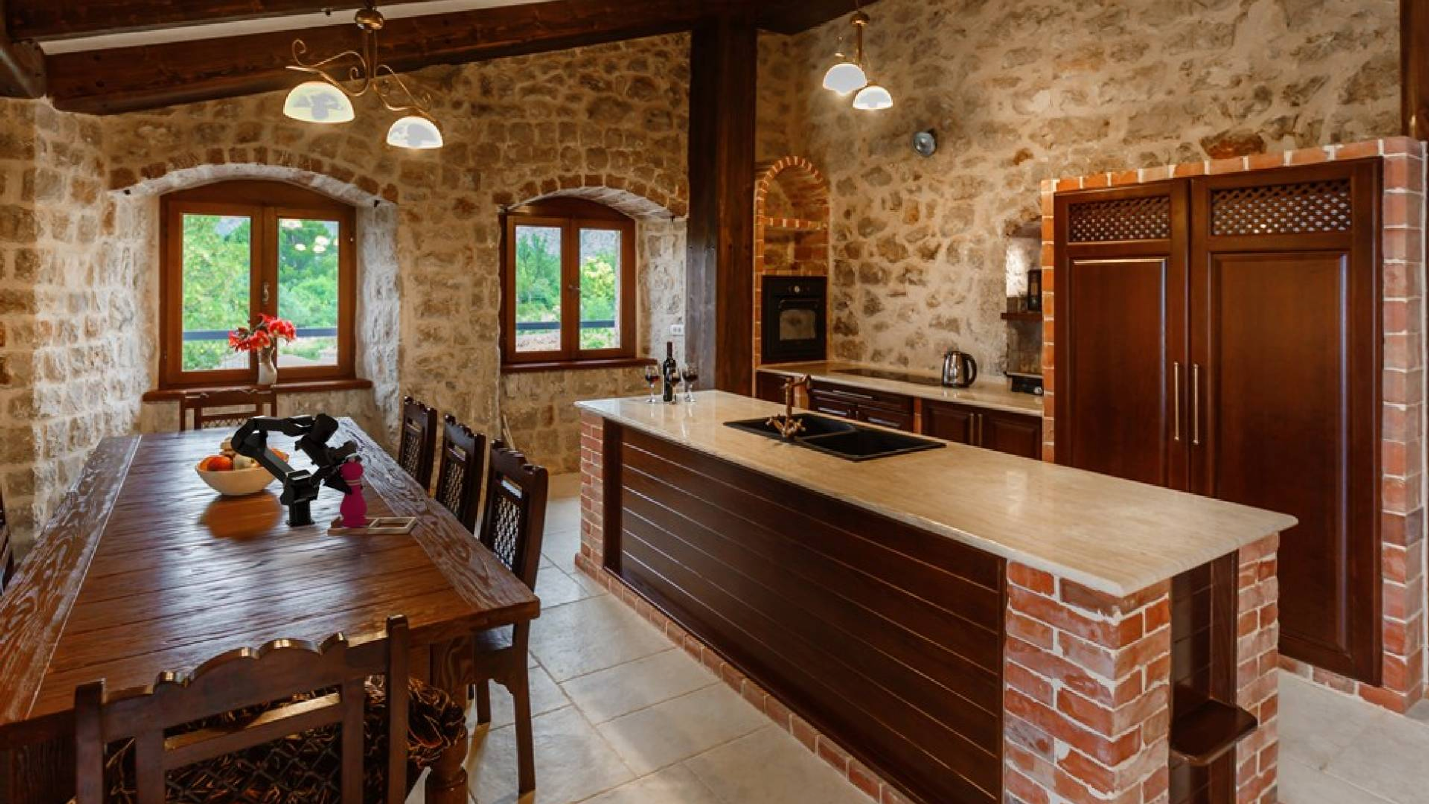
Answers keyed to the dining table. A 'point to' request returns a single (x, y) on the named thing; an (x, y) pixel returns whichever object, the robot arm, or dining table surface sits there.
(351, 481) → the pepper mill
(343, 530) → the rack
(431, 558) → the dining table surface
